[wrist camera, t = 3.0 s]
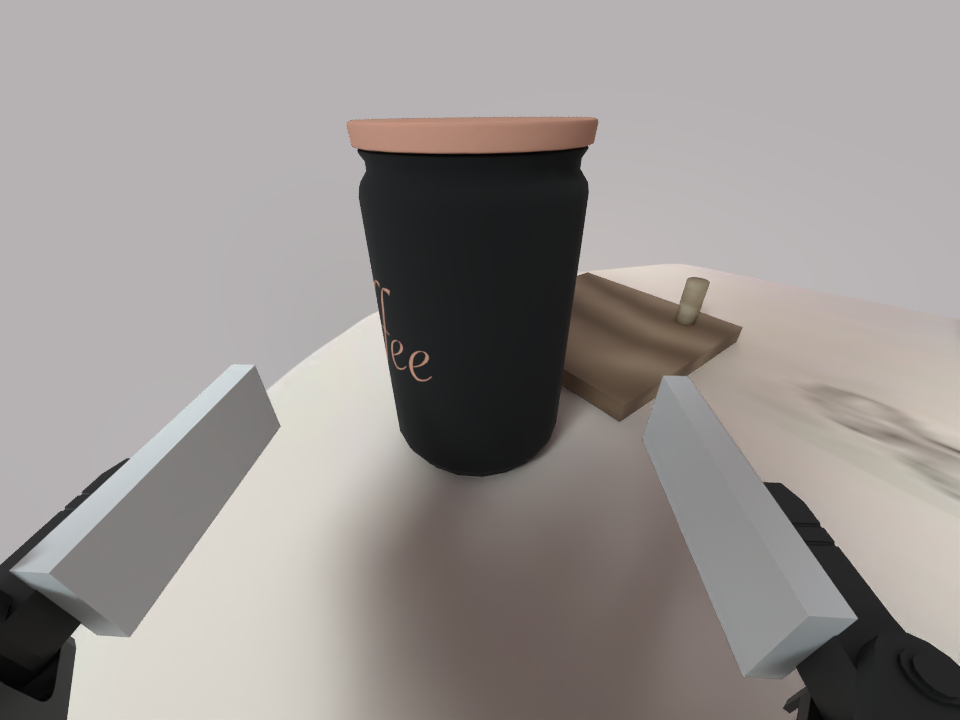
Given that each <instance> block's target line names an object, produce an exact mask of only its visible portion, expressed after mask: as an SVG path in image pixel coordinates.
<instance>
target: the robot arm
mask: <svg viewBox="0 0 960 720" xmlns="http://www.w3.org/2000/svg"><path fill="white" fill-rule="evenodd" d="M280 427H281V426H280V424H279V421H278V419H277V417H276V414H275V412H274V409H273V407H272V405H271V402H270V400H269V397H268V395H267V393H266V390H265V388H264V385H263V383H262V381H261V379H260V376H259V374H258V371H257V369H256V366H255V365H235V364H232V365H231V366H230V367H229V368H228V369H227V370H226V371H225V372H224V373H223V374H222V375H221V376H219V378H217V379H216V380H215V381H214V382H213V383H212V384H211V385H210V386H209V387H207V389H205V390H204V391H203V392H202V393H201V394H200V395H199V396H198V397H197V398H196V399H195V400H194V401H192V402H191V403H190V404H189V405H188V406H187V407H186V408H185V409H184V410H183V411H182V412H180V413H179V414H178V415H177V416H176V417H175V418H174V419H173V420H172V421H171V422H170V423H169V424H168V425H166V426H165V427H164V428H163V429H162V430H161V431H160V432H159V433H158V434H157V435H156V436H154V437H153V438H152V439H151V440H150V441H149V442H148V443H147V444H146V445H145V446H144V447H143V448H141V449H140V450H139V451H138V452H137V453H136V454H135V455H134V456H133V457H132V458H131V459H130V458H129V459H125V460H124V461H122V462H120V463H119V464H117V465H116V466H114V467H112V468H111V469H109V470H107V471H106V472H104V473H103V474H101V475H100V476H99V477H98V478H97V479H96V480H95V481H93V482H92V483H91V484H90V485H89V486H88V487H87V488H86V489H85V490H83V492H82V495H80V496H77V497H76V498H75V499H74V500H72V501H71V502H70V503H69V504H68V505H67V506H66V507H65V510H64V511H60V512H59V513H58V514H57V515H56V516H54V517H53V518H52V519H51V520H50V521H49V522H48V523H47V524H45V525H44V526H43V527H42V528H41V529H40V530H39V531H38V532H37V533H35V534H34V535H33V536H32V537H31V538H30V539H29V540H28V541H27V542H25V543H24V545H22V546H21V547H20V548H19V549H18V550H17V551H15V552H14V553H13V554H12V555H11V556H10V557H9V558H8V559H6V560H5V561H4V562H3V563H2V564H1V565H0V720H67V714H68V707H69V699H70V691H71V683H72V676H73V668H74V660H75V652H76V645H75V639H74V638H72V637H71V635H72V633H73V632H74V631H75V630H76V629H77V627H78V626H79V625H80V624H82V625H84V626H85V627H87V628H88V629H89V630H91V631H92V632H93V633H95V634H96V635H103V636H119V637H130V636H131V635H132V634H133V632H134V631H135V629H136V628H137V627H138V625H139V624H140V622H141V621H142V620H143V618H144V617H145V615H146V614H147V613H148V611H149V610H150V608H151V607H152V606H153V604H154V603H155V601H156V600H157V599H158V597H159V596H160V594H161V593H162V592H163V590H164V589H165V587H166V586H167V585H168V583H169V582H170V580H171V579H172V578H173V576H174V575H175V573H176V572H177V571H178V569H179V568H180V566H181V565H182V564H183V562H184V561H185V559H186V558H187V557H188V555H189V554H190V552H191V551H192V550H193V548H194V547H195V545H196V544H197V543H198V541H199V540H200V538H201V537H202V536H203V534H204V533H205V531H206V530H207V529H208V527H209V526H210V524H211V523H212V522H213V520H214V519H215V517H216V516H217V515H218V513H219V512H220V510H221V509H222V508H223V506H224V505H225V503H226V502H227V501H228V499H229V498H230V496H231V495H232V494H233V492H234V491H235V489H236V488H237V487H238V485H239V484H240V483H241V481H242V480H243V478H244V477H245V476H246V474H247V473H248V471H249V470H250V469H251V467H252V466H253V464H254V463H255V462H256V460H257V459H258V457H259V456H260V455H261V453H262V452H263V450H264V449H265V448H266V446H267V445H268V443H269V442H270V441H271V439H272V438H273V436H274V435H275V434H276V432H277V431H278V429H279V428H280ZM642 439H643V442H644V444H645V446H646V449H647V451H648V454H649V456H650V458H651V461H652V463H653V465H654V468H655V470H656V472H657V475H658V477H659V479H660V482H661V484H662V487H663V489H664V491H665V494H666V496H667V498H668V501H669V503H670V505H671V508H672V510H673V513H674V515H675V517H676V520H677V522H678V524H679V527H680V529H681V531H682V534H683V536H684V539H685V541H686V543H687V546H688V548H689V550H690V553H691V555H692V557H693V560H694V562H695V564H696V567H697V569H698V572H699V574H700V576H701V579H702V581H703V583H704V586H705V588H706V590H707V593H708V595H709V598H710V600H711V602H712V605H713V607H714V609H715V612H716V614H717V616H718V619H719V621H720V623H721V626H722V628H723V631H724V633H725V635H726V638H727V640H728V642H729V645H730V647H731V649H732V652H733V654H734V657H735V659H736V661H737V664H738V666H739V668H740V671H741V673H742V675H743V677H753V678H769V679H783V678H784V677H786V676H787V675H788V674H790V673H791V672H792V671H793V670H795V669H796V668H797V670H798V672H799V674H800V676H801V678H802V680H803V682H804V683H805V685H806V687H804V688H803V689H802V690H800V691H799V692H798V693H796V694H795V695H793V696H792V697H791V698H789V699H788V700H787V702H786V704H785V706H784V707H783V709H785V710H786V711H787V712H788V713H791V712H792V711H794V710H795V709H797V708H798V707H799V708H798V714H797V720H960V666H959V665H958V664H956V663H955V662H954V661H953V660H952V659H951V658H950V657H949V656H947V655H946V654H944V653H943V652H941V651H940V650H939V649H937V648H936V647H934V646H933V645H931V644H930V643H928V642H926V641H924V640H922V639H920V638H917V637H915V636H913V635H911V634H909V633H906V632H905V631H904V630H903V629H902V627H901V626H900V625H899V624H898V623H897V622H896V621H895V619H894V618H893V617H892V616H891V614H890V613H889V612H888V610H887V609H886V608H885V607H884V605H883V604H882V603H881V601H880V600H879V599H878V597H877V596H876V595H875V594H874V592H873V591H872V590H871V588H870V587H869V586H868V585H867V583H866V582H865V581H864V579H863V578H862V577H861V575H860V574H859V573H858V572H857V570H856V569H855V568H854V566H853V565H852V564H851V562H850V561H849V560H848V559H847V557H846V556H845V555H844V553H843V552H842V551H841V549H840V548H839V547H836V546H835V544H834V543H835V542H834V540H833V539H832V538H831V536H830V535H829V534H828V533H827V531H826V530H825V529H824V528H821V526H820V522H819V521H818V520H817V518H816V517H815V516H814V514H813V513H812V512H811V511H810V509H809V508H808V507H807V505H806V504H805V503H804V502H803V501H802V500H801V499H800V498H798V497H797V496H796V495H795V494H794V493H792V492H791V491H790V490H789V489H787V488H786V487H785V486H784V485H783V484H781V483H768V482H762V481H761V479H760V478H759V476H758V475H757V474H756V472H755V471H754V469H753V468H752V466H751V465H750V464H749V462H748V461H747V459H746V458H745V456H744V455H743V454H742V452H741V451H740V449H739V448H738V446H737V445H736V444H735V442H734V441H733V439H732V438H731V436H730V435H729V434H728V432H727V431H726V429H725V428H724V426H723V425H722V424H721V422H720V421H719V419H718V418H717V416H716V415H715V414H714V412H713V411H712V409H711V408H710V406H709V405H708V404H707V402H706V401H705V399H704V398H703V396H702V395H701V394H700V392H699V391H698V389H697V388H696V386H695V385H694V384H693V382H692V381H691V379H690V378H689V376H663V377H662V380H661V383H660V386H659V390H658V393H657V396H656V399H655V402H654V405H653V408H652V411H651V414H650V417H649V420H648V423H647V426H646V429H645V432H644V435H643V438H642Z"/></svg>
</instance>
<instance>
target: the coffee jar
mask: <svg viewBox="0 0 960 720" xmlns="http://www.w3.org/2000/svg"><path fill="white" fill-rule="evenodd" d="M597 126H598V119H596V118H592V117H468V118H467V117H466V118H402V119H366V120H365V119H364V120H350V121H348V122H347V129H348V133H349V137H350V141H351V145H352V147H354V148H358V153H359V155H360V156H361V157H362V158H363V160H364V161H365V165H366V172H365V175H364V176H363V178H362V180H361V182H360V186H359V200H360V207H361V212H362V218H363V224H364V229H365V235H366V240H367V246H368V251H369V257H370V263H371V269H372V274H373V280H374V285H375V291H376V297H377V303H378V308H379V314H380V319H381V325H382V331H383V336H384V342H385V348H386V353H387V359H388V365H389V370H390V376H391V381H392V387H393V393H394V398H395V404H396V410H397V415H398V421H399V427H400V431H401V433H402V434H403V436H404V438H405V439H406V441H407V443H408V445H409V446H410V448H411V449H412V450H413V451H414V452H416V453H417V454H418V455H420V456H421V457H422V458H424V459H425V460H426V461H428V462H429V463H430V464H432V465H434V466H435V467H437V468H440V469H443V470H446V471H448V472H451V473H454V474H457V475H466V476H481V477H483V476H488V475H493V474H498V473H504V472H507V471H509V470H511V469H513V468H515V467H517V466H519V465H521V464H523V463H525V462H526V461H527V460H529V459H531V458H532V457H533V456H534V455H535V454H536V453H537V452H538V451H539V450H540V449H541V448H542V447H543V446H544V445H545V444H546V443H547V442H548V441H549V439H550V437H551V434H552V432H553V429H554V426H555V423H556V419H557V412H558V405H559V398H560V391H561V383H562V376H563V369H564V362H565V355H566V348H567V341H568V334H569V327H570V320H571V313H572V306H573V299H574V292H575V285H576V278H577V270H578V263H579V257H580V250H581V243H582V235H583V228H584V222H585V214H586V207H587V200H588V193H589V191H588V182H587V180H586V178H585V176H584V175H583V173H582V171H581V169H580V166H581V158H582V157H583V155H584V154H585V152H586V151H587V150H588V145H590V144H593V143H594V140H595V135H596V130H597Z"/></svg>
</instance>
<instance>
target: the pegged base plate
mask: <svg viewBox="0 0 960 720" xmlns="http://www.w3.org/2000/svg"><path fill="white" fill-rule="evenodd" d="M709 283H710V282H709V281H708V280H706V279H703V278H697V277H691V278H688V279H687V282H686V285H685V288H684V291H683V294H682V297H681V301H680V304H679V305H678V304H675V303H672V302H669V301H667V300H664V299H661V298H658V297H655V296H653V295H650V294H647V293H644V292H641V291H638V290H636V289H633V288H630V287H627V286H624V285H621V284H619V283H616V282H613V281H610V280H607V279H605V278H602V277H599V276H596V275H593V274H590V273H585V274H582V275H579V276H577V278H576V285H575V292H574V299H573V306H572V313H571V320H570V327H569V334H568V341H567V348H566V355H565V362H564V369H563V376H562V383H561V384H562V385H564V386H565V387H567V388H568V389H570V390H571V391H573V392H574V393H576V394H578V395H579V396H581V397H582V398H584V399H585V400H587V401H588V402H590V403H591V404H593V405H595V406H596V407H598V408H599V409H601V410H602V411H604V412H605V413H607V414H608V415H610V416H612V417H613V418H615V419H616V420H618V421H619V422H620V421H621V420H623V419H624V418H626V417H627V416H629V415H630V414H632V413H633V412H634V411H636V410H637V409H639V408H640V407H642V406H643V405H645V404H646V403H648V402H649V401H650V400H652V399H653V398H655V397H656V396H657V393H658V390H659V386H660V383H661V380H662V377H663V376H687V375H688V374H690V373H691V372H693V371H694V370H696V369H697V368H698V367H700V366H701V365H703V364H704V363H706V362H707V361H709V360H710V359H712V358H713V357H714V356H716V355H717V354H719V353H720V352H722V351H723V350H725V349H726V348H728V347H729V346H730V345H732V344H733V343H735V342H736V341H737V339H738V337H739V334H740V332H741V330H742V328H743V327H740V326H737V325H734V324H732V323H729V322H726V321H723V320H720V319H717V318H715V317H712V316H709V315H706V314H703V313H701V312H700V309H701V306H702V303H703V300H704V298H705V295H706V292H707V289H708V286H709Z"/></svg>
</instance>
